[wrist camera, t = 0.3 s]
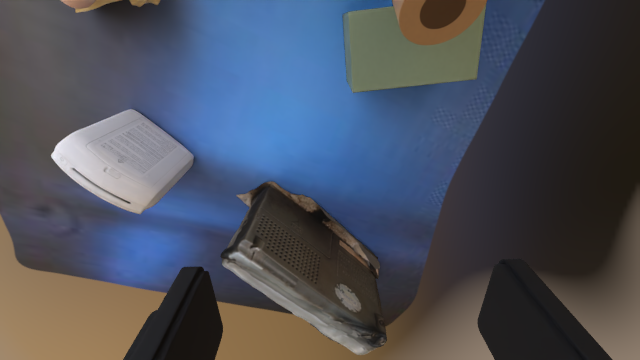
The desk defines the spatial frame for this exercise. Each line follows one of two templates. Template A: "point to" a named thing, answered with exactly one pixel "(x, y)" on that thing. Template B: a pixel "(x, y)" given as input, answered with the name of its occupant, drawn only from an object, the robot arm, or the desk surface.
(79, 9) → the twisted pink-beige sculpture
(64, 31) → the desk surface
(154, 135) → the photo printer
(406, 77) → the green block
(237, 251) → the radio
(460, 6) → the paper roll
